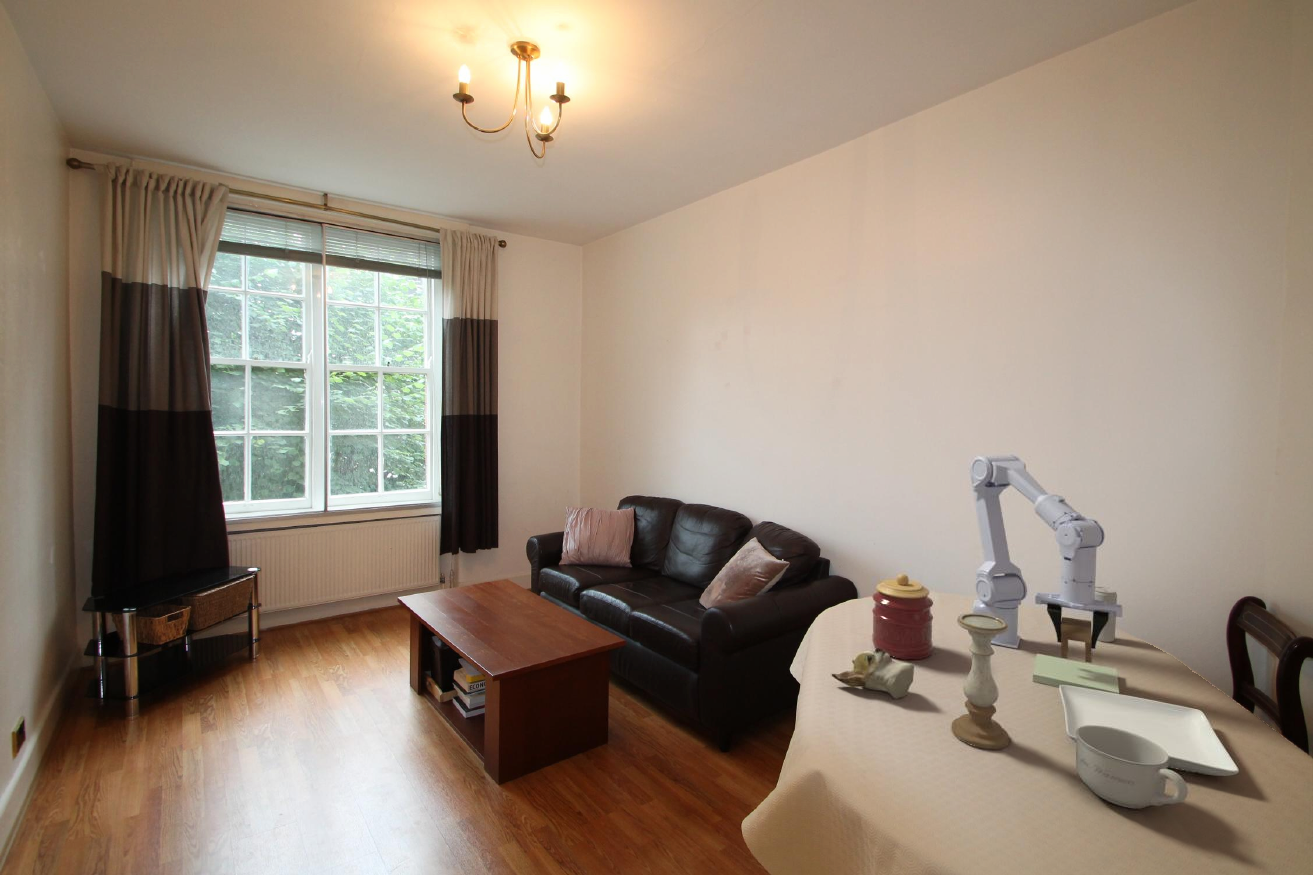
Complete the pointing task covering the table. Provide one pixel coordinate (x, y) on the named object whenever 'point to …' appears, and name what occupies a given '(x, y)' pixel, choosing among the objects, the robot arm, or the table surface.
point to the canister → (902, 618)
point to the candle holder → (981, 685)
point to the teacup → (1125, 767)
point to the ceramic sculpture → (879, 673)
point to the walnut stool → (1076, 635)
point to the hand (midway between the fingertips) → (1076, 643)
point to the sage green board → (1074, 674)
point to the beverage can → (1109, 628)
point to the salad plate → (1151, 727)
